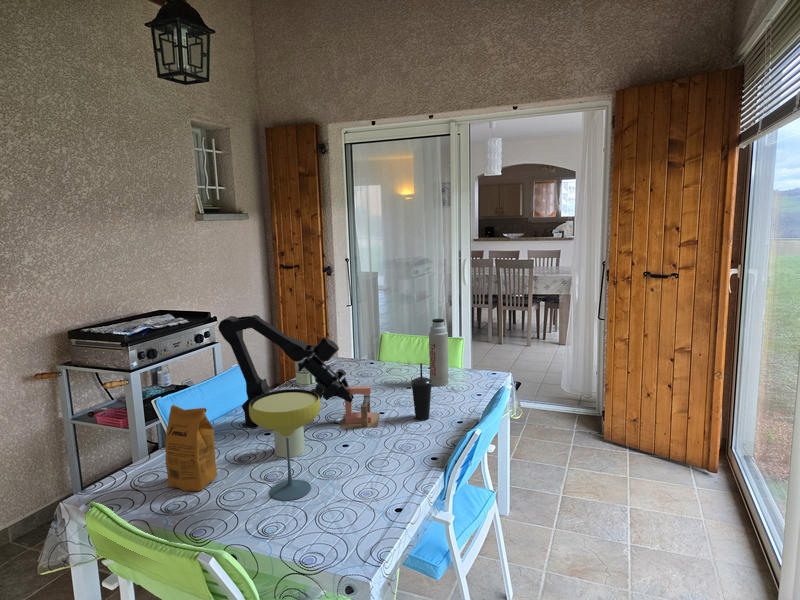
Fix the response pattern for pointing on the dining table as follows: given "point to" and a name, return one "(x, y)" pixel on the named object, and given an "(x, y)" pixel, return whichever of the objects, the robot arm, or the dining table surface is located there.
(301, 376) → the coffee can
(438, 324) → the thermos bottle
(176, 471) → the coffee package
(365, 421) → the stand
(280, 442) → the can
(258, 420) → the cocktail glass
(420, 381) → the drinking cup
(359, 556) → the dining table surface
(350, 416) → the c link
